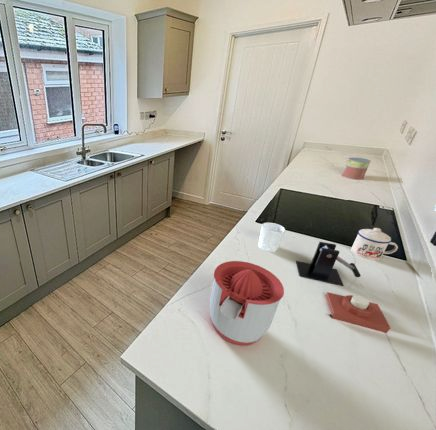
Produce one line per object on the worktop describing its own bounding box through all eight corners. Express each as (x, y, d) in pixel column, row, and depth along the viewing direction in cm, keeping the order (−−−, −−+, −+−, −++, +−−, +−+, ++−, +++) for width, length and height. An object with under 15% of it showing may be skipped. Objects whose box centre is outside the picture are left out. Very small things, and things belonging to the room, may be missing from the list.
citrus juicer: (190, 331, 71) (200, 273, 62) (220, 298, 82) (232, 244, 73) (250, 371, 61) (272, 309, 52) (275, 327, 72) (296, 269, 63)
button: (364, 302, 74) (366, 297, 74) (368, 311, 72) (371, 306, 71) (348, 298, 76) (350, 294, 75) (352, 307, 73) (354, 302, 72)
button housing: (374, 309, 77) (380, 299, 75) (386, 333, 69) (393, 322, 68) (324, 297, 81) (329, 287, 79) (331, 318, 74) (336, 308, 72)
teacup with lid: (352, 258, 99) (365, 231, 93) (346, 246, 106) (358, 220, 100) (394, 267, 93) (411, 239, 88) (386, 253, 101) (400, 227, 95)
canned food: (344, 173, 187) (351, 156, 182) (365, 176, 180) (372, 159, 174) (340, 176, 181) (346, 159, 176) (361, 180, 173) (368, 162, 168)
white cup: (266, 256, 101) (273, 233, 96) (251, 245, 108) (257, 224, 103) (283, 252, 103) (290, 230, 98) (267, 242, 110) (273, 221, 105)
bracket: (335, 272, 92) (348, 243, 86) (342, 288, 85) (356, 258, 79) (295, 263, 96) (305, 236, 91) (298, 278, 89) (309, 249, 84)
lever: (350, 268, 88) (357, 263, 86) (356, 278, 83) (363, 274, 82) (318, 246, 89) (324, 241, 88) (322, 255, 84) (328, 251, 83)
